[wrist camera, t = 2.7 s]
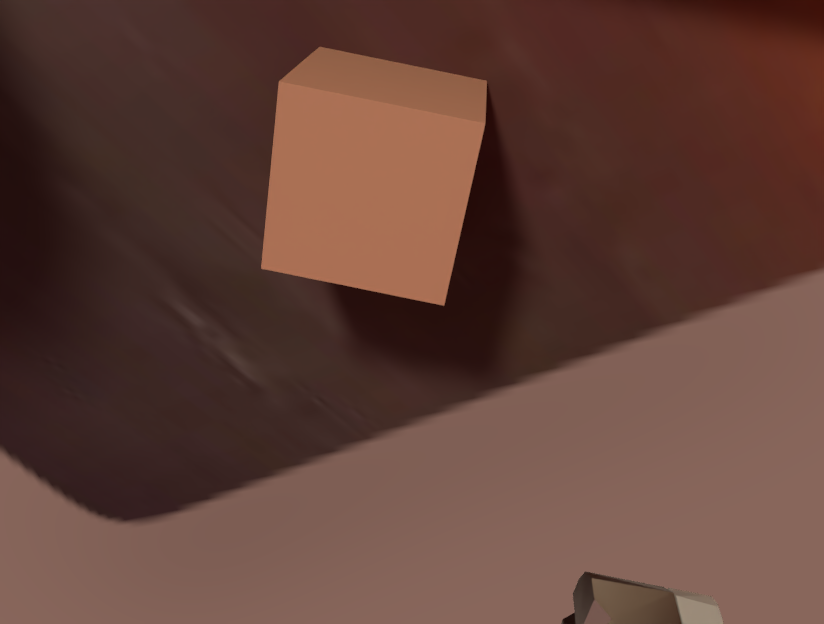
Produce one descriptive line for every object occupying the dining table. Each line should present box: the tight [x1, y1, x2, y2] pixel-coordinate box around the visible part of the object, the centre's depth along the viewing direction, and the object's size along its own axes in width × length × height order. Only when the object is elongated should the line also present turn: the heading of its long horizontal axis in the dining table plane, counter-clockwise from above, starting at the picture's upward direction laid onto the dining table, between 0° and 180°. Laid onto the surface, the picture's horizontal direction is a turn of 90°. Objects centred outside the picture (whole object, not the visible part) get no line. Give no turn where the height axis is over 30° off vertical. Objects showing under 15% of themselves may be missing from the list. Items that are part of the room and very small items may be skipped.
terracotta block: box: [261, 47, 487, 306], centre depth 22 cm, size 5×5×5 cm
